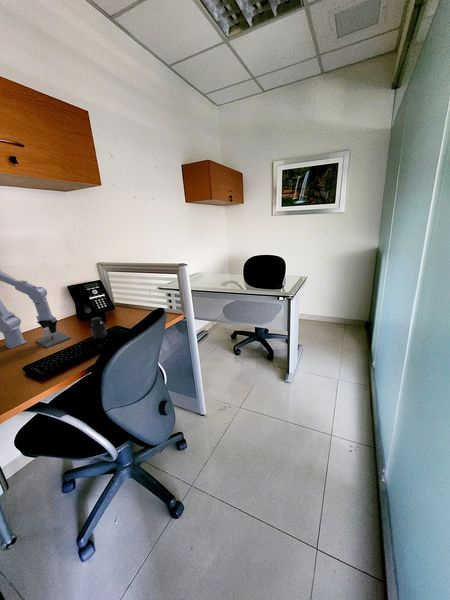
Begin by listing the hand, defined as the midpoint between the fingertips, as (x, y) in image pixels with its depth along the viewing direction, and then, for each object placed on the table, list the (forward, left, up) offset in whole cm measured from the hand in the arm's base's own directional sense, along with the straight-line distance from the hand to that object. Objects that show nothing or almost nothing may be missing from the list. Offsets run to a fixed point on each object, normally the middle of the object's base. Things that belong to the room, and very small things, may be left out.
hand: (50, 331), depth 134 cm
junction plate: (0, 0, -5) cm, 5 cm away
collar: (0, 0, -1) cm, 1 cm away
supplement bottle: (+24, +15, -5) cm, 29 cm away
